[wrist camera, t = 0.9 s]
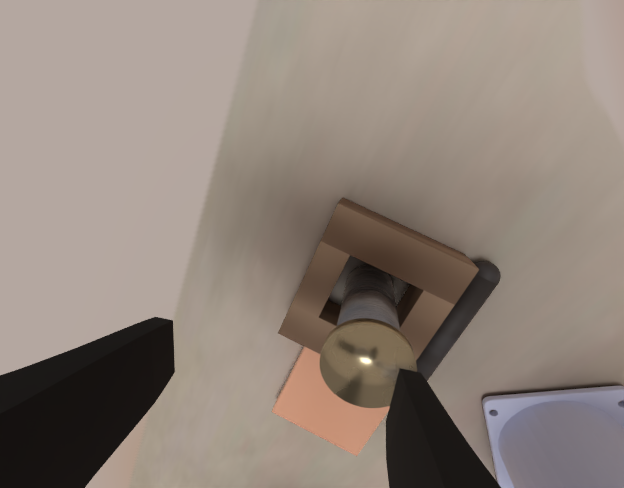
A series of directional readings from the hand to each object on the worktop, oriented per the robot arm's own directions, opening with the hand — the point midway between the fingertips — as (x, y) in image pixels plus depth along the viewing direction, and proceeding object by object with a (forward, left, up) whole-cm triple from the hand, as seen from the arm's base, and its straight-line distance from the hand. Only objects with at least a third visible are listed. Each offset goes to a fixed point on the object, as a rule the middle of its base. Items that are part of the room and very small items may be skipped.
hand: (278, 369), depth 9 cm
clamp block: (-2, -2, -11) cm, 11 cm away
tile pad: (-10, +2, -11) cm, 15 cm away
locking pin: (-2, -2, -11) cm, 11 cm away
